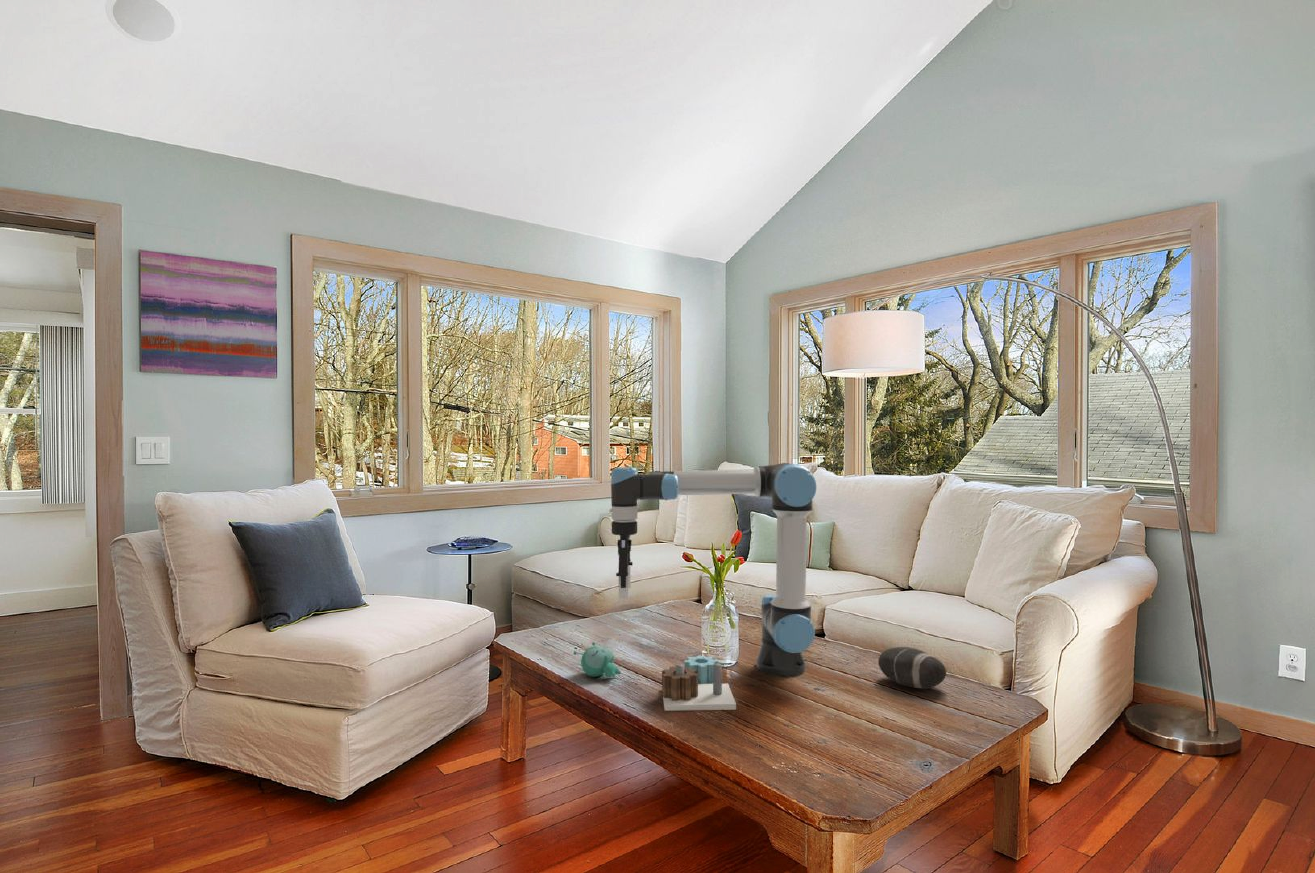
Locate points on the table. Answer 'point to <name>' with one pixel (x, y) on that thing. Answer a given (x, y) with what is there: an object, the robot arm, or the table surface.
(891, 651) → the decorative stone
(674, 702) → the gear board
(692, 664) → the teal gear
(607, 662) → the toy
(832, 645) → the table surface
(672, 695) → the walnut gear
